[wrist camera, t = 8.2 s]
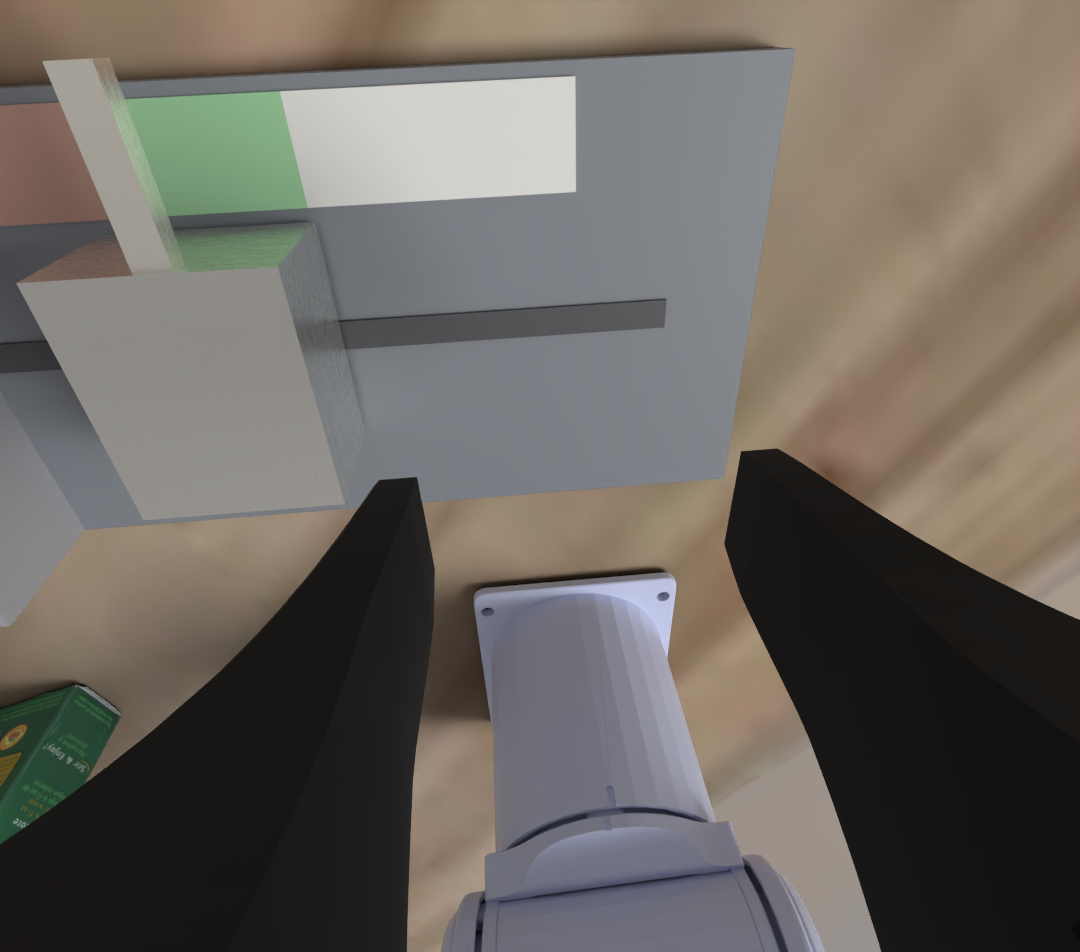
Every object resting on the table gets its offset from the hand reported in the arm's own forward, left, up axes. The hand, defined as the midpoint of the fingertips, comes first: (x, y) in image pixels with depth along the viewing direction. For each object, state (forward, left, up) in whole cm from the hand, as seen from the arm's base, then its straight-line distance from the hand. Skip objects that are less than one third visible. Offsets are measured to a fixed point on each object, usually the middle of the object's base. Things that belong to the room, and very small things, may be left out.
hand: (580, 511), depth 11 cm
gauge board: (0, +6, -9) cm, 11 cm away
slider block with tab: (+2, +8, -8) cm, 12 cm away
